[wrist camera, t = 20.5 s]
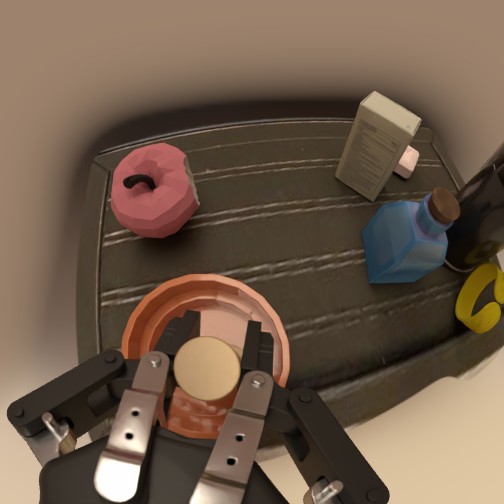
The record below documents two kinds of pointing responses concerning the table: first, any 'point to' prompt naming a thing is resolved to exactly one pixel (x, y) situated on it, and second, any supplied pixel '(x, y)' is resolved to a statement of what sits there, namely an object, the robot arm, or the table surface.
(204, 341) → the stick
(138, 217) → the apple
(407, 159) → the soap bar
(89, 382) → the robot arm
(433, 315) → the table surface
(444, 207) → the blue potion bottle
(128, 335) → the bowl
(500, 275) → the bracelet
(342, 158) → the cosmetic box
